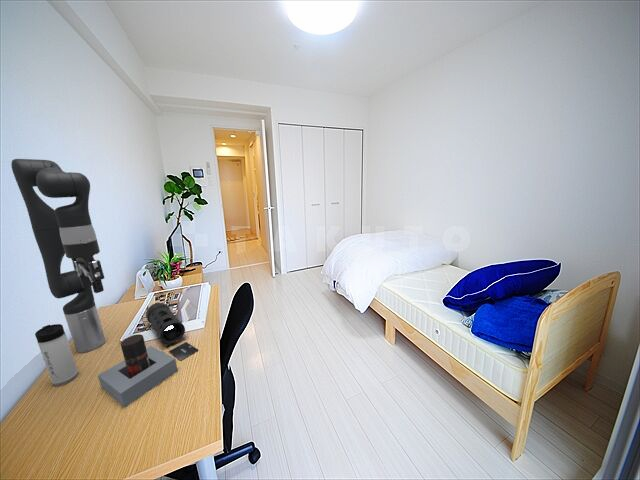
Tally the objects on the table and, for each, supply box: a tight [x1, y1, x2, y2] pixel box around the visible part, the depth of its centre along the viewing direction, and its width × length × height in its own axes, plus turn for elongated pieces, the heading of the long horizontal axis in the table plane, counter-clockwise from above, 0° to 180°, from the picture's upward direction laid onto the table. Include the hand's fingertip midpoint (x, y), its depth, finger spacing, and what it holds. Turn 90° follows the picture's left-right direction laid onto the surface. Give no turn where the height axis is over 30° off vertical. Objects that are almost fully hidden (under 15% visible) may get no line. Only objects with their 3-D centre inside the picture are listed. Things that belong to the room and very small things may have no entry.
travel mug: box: [34, 323, 79, 387], centre depth 81 cm, size 6×7×20 cm
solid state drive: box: [168, 341, 199, 362], centre depth 95 cm, size 7×10×1 cm
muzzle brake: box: [145, 302, 186, 345], centre depth 108 cm, size 10×28×10 cm, turn 46°
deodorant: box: [120, 333, 150, 379], centre depth 80 cm, size 6×6×15 cm
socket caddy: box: [97, 345, 179, 408], centre depth 81 cm, size 16×16×5 cm
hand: (93, 289), depth 76 cm, fingers open, 8 cm apart
